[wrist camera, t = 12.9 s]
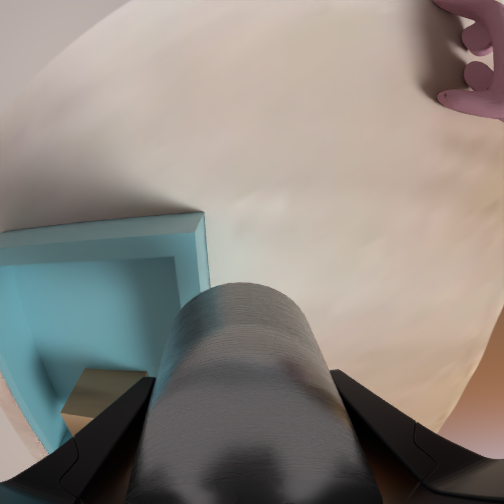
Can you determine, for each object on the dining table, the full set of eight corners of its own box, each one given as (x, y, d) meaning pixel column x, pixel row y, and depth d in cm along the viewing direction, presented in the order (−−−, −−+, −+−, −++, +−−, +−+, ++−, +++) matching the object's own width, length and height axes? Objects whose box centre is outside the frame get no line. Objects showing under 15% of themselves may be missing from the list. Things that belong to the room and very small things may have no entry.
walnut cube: (161, 419, 22) (151, 468, 17) (103, 415, 21) (86, 459, 17) (147, 371, 20) (131, 421, 15) (84, 368, 20) (60, 412, 15)
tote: (227, 430, 24) (228, 477, 19) (69, 421, 23) (51, 458, 18) (204, 211, 18) (194, 232, 13) (3, 231, 18) (-40, 252, 13)
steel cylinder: (305, 394, 12) (351, 549, 5) (179, 399, 11) (157, 560, 5) (316, 279, 10) (420, 448, 4) (160, 284, 10) (80, 465, 3)
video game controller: (457, 122, 19) (538, 135, 13) (431, 105, 17) (529, 115, 11) (454, 15, 16) (527, 14, 10) (426, -13, 14) (509, -20, 8)
